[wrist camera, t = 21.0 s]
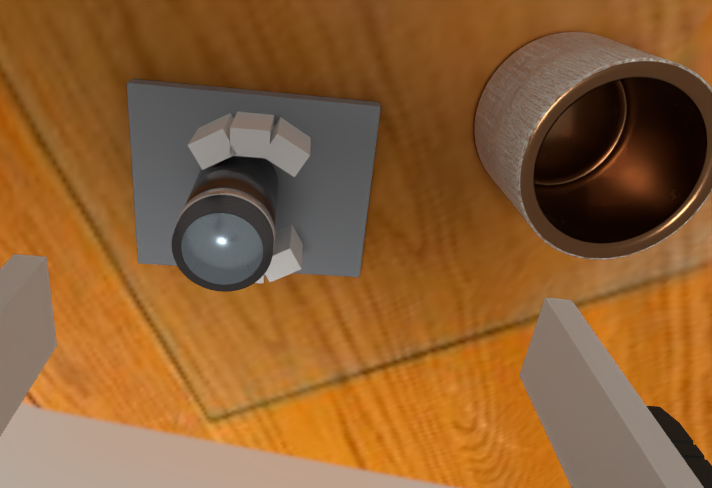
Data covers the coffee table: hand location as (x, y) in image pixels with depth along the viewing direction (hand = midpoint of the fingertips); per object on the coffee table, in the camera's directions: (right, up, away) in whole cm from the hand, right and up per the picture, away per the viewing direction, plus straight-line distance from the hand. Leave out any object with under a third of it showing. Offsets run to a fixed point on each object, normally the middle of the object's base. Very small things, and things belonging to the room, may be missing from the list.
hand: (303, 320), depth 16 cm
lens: (-6, +6, +22) cm, 23 cm away
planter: (+14, +10, +23) cm, 29 cm away
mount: (-5, +6, +23) cm, 24 cm away
